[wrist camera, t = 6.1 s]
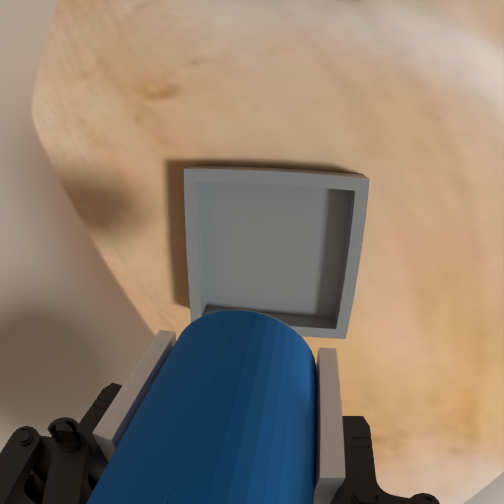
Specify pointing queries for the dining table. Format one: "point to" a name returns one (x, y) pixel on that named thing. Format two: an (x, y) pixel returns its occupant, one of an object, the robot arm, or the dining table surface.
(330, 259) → the tray
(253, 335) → the beverage can
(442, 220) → the dining table surface
